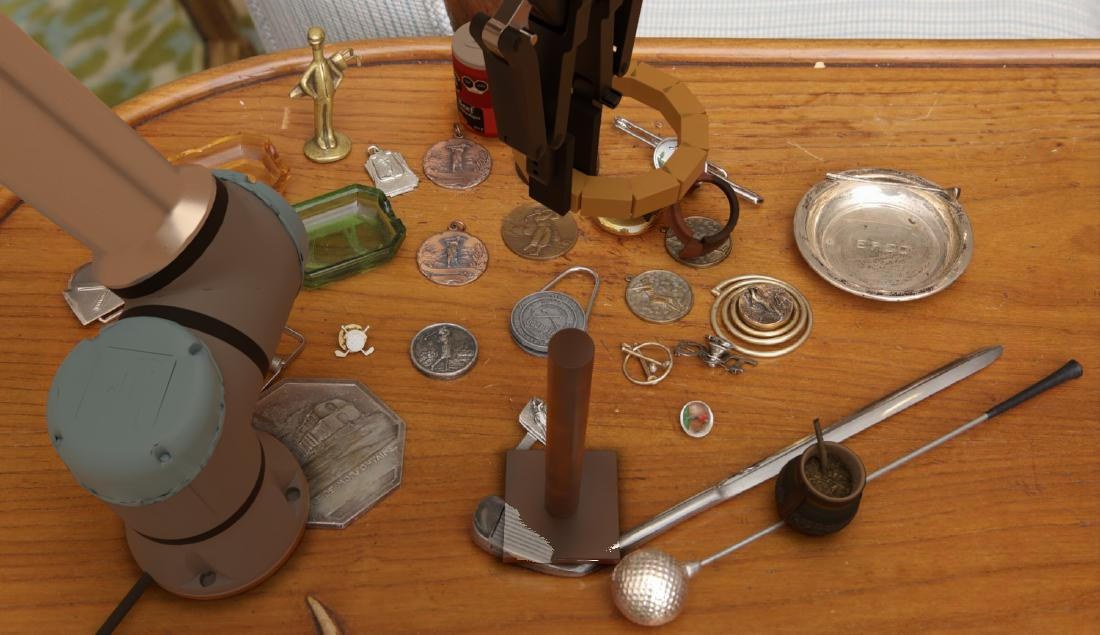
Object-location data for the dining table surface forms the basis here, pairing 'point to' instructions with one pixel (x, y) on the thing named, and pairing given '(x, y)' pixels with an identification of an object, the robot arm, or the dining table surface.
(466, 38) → the canned food
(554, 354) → the holder
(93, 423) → the robot arm
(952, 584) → the dining table surface
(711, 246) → the brown knobbed loop
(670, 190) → the ring
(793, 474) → the mate gourd
